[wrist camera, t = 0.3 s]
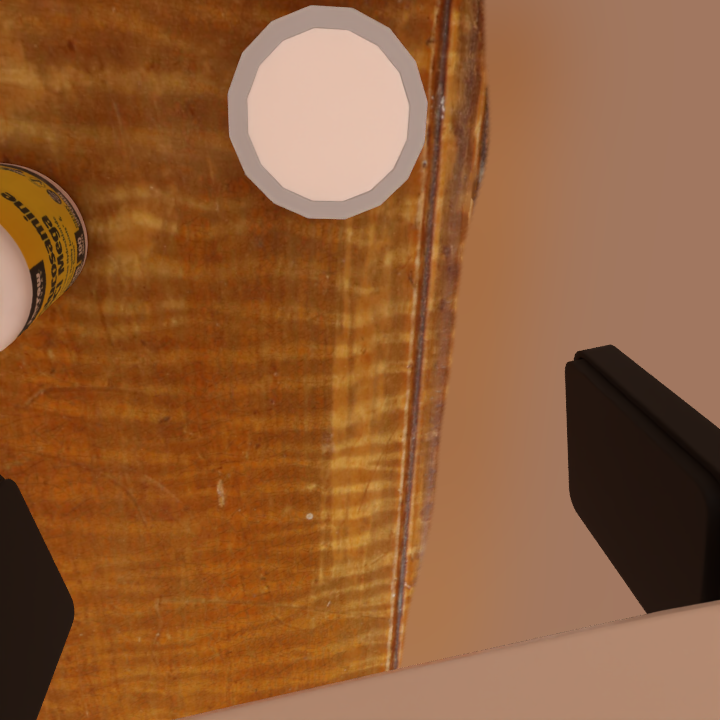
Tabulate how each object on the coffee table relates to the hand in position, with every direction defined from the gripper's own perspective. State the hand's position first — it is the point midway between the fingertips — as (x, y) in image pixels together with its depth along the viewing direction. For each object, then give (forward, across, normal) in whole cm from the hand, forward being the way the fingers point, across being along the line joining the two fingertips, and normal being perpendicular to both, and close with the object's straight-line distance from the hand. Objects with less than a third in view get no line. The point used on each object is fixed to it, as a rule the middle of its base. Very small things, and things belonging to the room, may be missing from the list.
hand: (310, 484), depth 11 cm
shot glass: (+21, -2, -5) cm, 22 cm away
